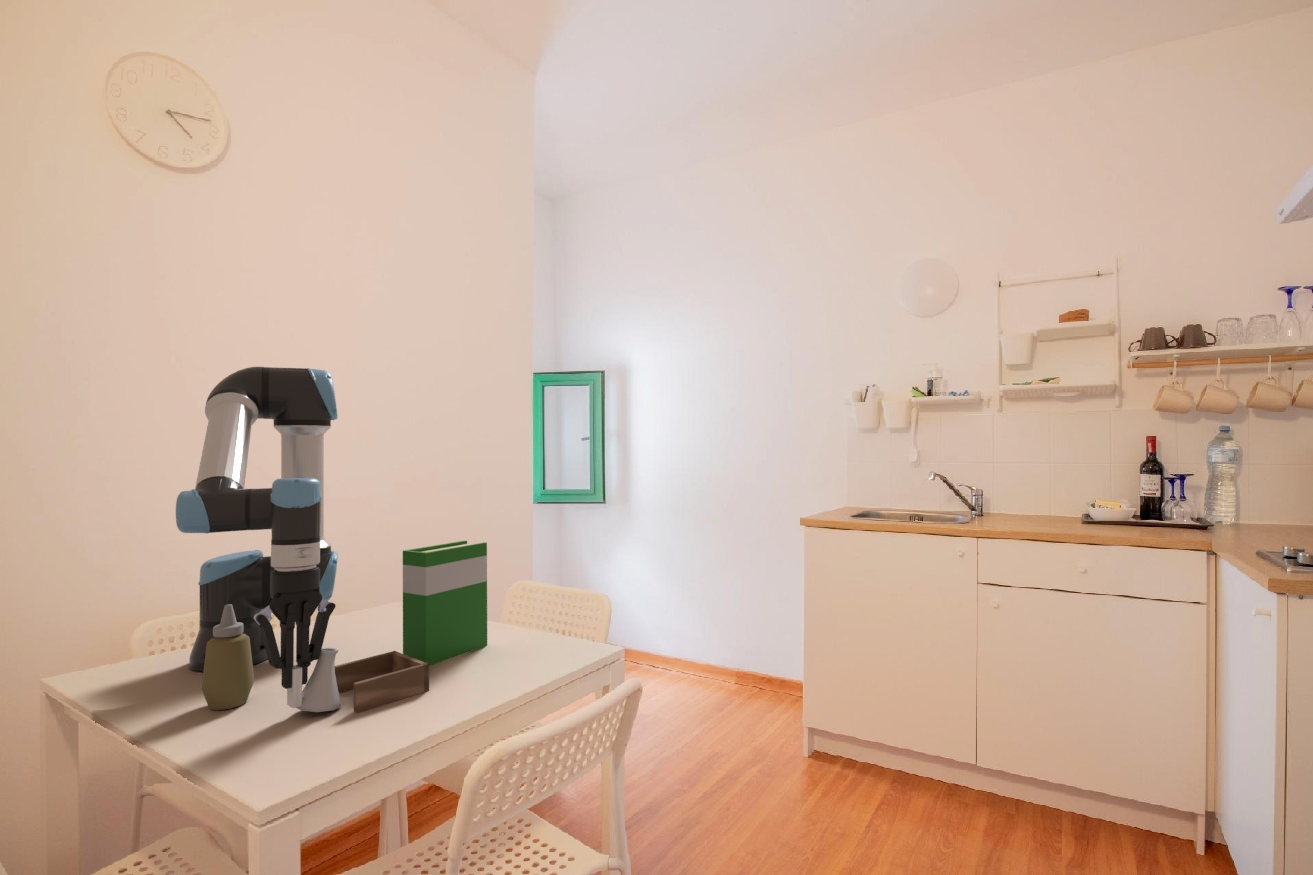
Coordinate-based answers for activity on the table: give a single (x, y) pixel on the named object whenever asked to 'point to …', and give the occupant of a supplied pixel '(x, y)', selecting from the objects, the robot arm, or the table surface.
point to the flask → (322, 685)
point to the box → (382, 679)
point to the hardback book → (444, 600)
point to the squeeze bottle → (227, 664)
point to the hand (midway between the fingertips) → (294, 705)
